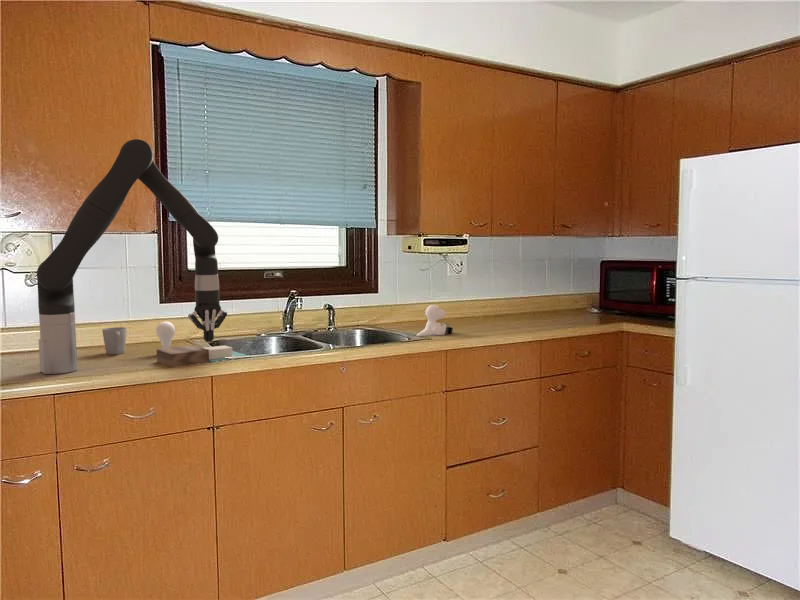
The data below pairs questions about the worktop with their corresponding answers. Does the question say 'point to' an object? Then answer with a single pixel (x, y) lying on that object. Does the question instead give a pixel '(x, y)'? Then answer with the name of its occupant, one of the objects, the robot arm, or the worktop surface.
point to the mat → (225, 358)
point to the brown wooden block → (182, 355)
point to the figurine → (433, 327)
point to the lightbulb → (165, 333)
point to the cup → (114, 340)
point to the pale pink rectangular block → (219, 352)
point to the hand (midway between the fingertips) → (208, 341)
